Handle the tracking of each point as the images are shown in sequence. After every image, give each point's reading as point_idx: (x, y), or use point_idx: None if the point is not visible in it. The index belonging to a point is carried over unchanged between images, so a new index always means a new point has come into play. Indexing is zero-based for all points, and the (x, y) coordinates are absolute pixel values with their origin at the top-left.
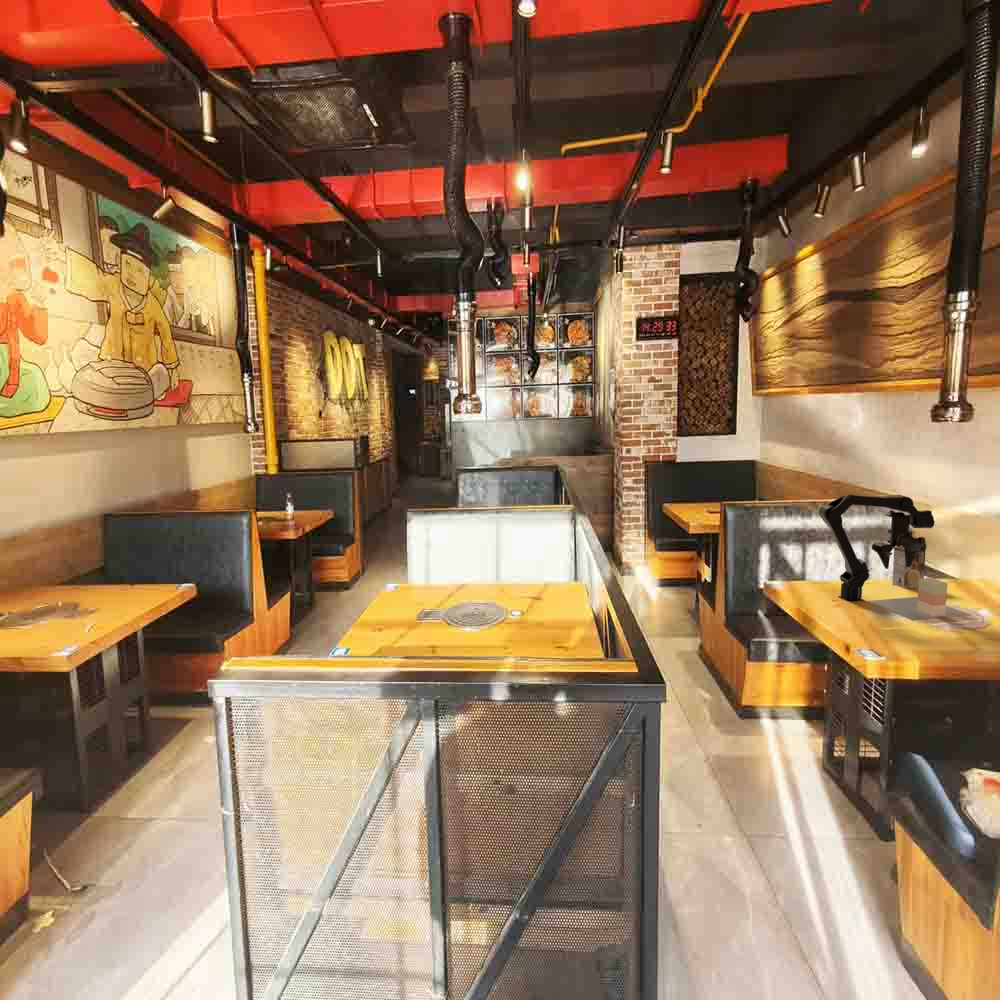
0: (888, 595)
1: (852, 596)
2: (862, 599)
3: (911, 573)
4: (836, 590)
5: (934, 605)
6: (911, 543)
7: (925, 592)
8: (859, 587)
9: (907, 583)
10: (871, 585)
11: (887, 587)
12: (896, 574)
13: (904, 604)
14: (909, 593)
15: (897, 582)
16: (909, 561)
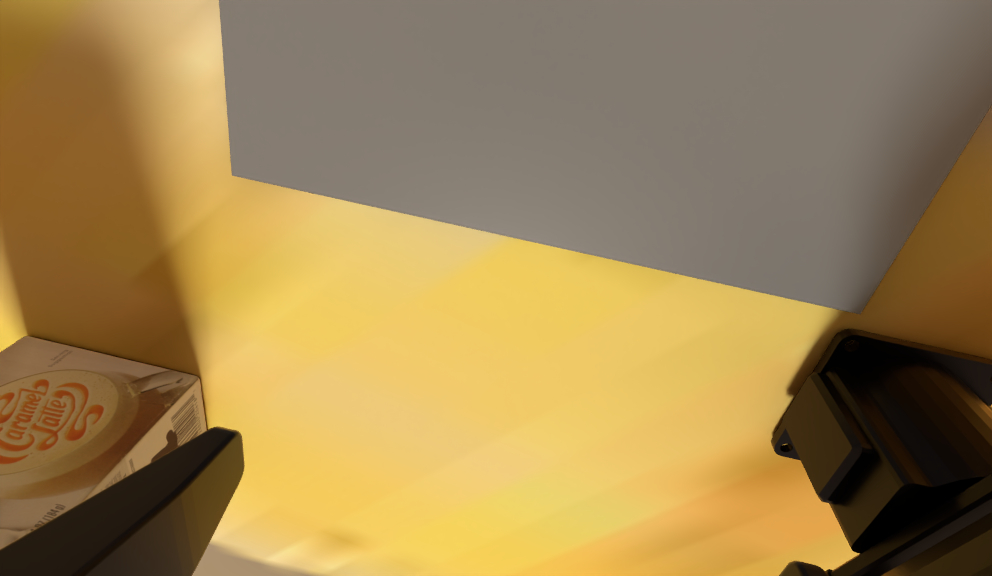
0: (458, 333)
1: (982, 401)
2: (843, 347)
3: (28, 459)
4: (702, 557)
5: None
6: None
7: None
8: (952, 457)
9: (139, 398)
10: (360, 510)
11: (289, 444)
12: None
13: (631, 56)
14: (243, 290)
15: None
16: (127, 565)
